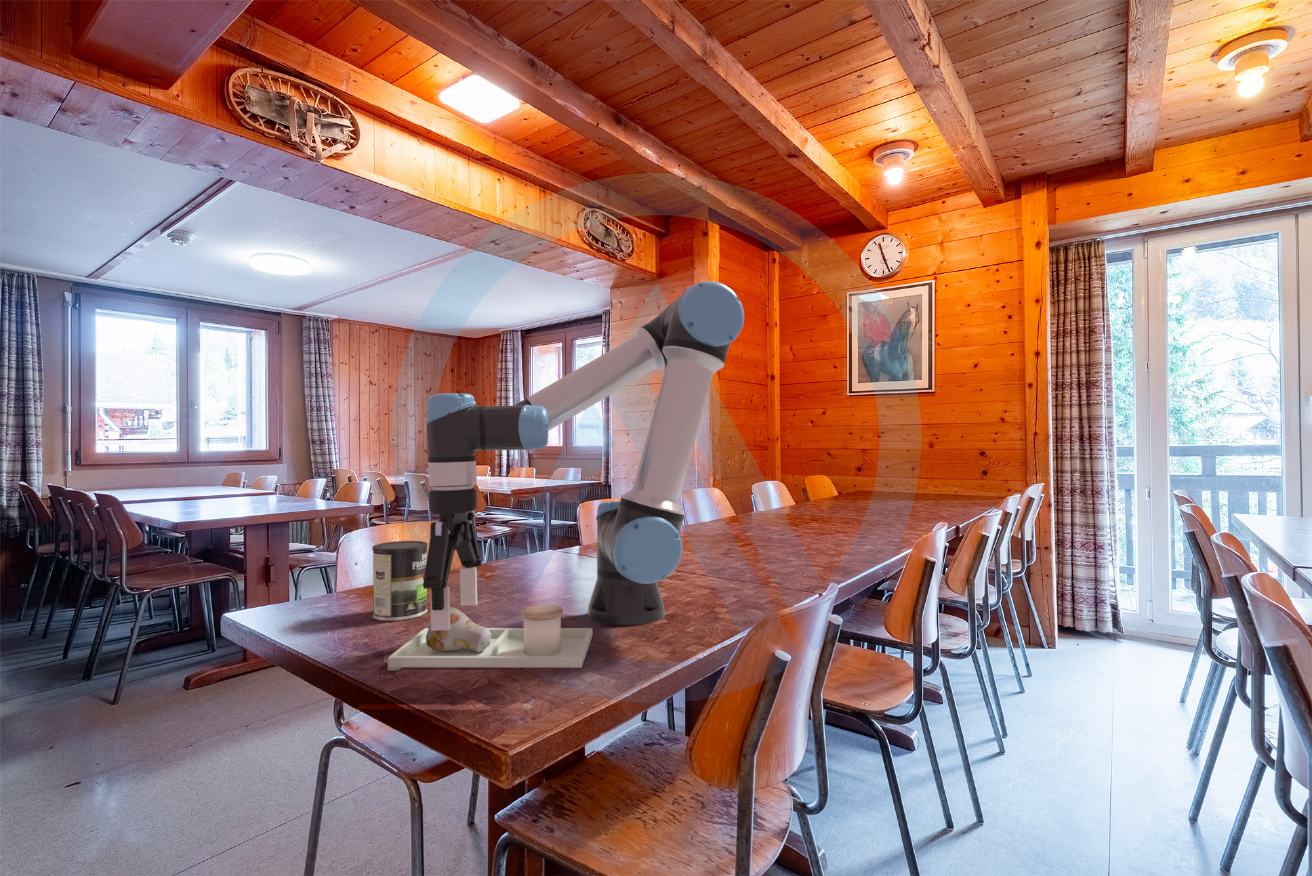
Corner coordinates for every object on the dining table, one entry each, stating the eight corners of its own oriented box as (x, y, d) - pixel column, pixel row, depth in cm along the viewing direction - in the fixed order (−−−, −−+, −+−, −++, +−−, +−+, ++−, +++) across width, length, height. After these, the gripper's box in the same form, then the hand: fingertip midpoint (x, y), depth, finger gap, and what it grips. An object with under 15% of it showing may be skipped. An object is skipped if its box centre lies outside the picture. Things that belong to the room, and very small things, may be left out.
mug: (487, 660, 95) (453, 608, 94) (440, 681, 98) (406, 630, 96) (506, 634, 102) (475, 585, 101) (462, 654, 105) (431, 606, 104)
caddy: (592, 639, 106) (592, 628, 106) (581, 671, 92) (581, 658, 92) (425, 639, 107) (425, 627, 107) (387, 670, 92) (387, 657, 92)
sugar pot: (565, 643, 102) (565, 604, 102) (559, 657, 96) (559, 616, 96) (526, 643, 102) (526, 604, 102) (517, 657, 96) (517, 616, 96)
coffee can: (435, 607, 128) (435, 540, 128) (415, 621, 117) (415, 549, 117) (386, 606, 128) (386, 540, 128) (362, 621, 117) (362, 549, 117)
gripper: (455, 482, 112) (458, 596, 112) (396, 495, 87) (400, 642, 87) (496, 481, 112) (498, 596, 112) (448, 494, 87) (452, 641, 87)
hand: (455, 616), depth 99 cm, fingers open, 13 cm apart
